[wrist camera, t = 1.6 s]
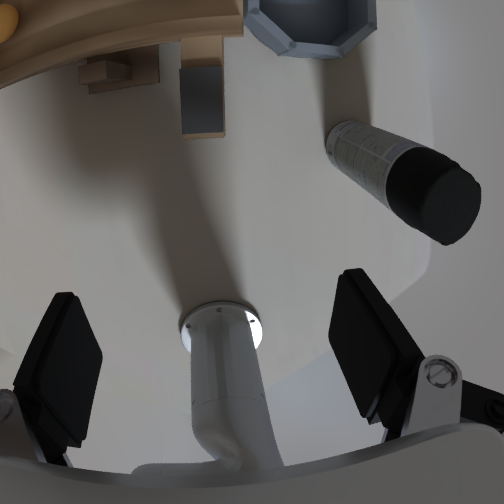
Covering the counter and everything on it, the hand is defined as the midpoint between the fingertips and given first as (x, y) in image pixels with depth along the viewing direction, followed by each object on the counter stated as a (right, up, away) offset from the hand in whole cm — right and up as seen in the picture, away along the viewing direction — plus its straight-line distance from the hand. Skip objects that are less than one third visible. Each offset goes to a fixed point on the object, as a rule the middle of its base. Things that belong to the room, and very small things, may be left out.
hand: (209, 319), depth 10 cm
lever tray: (-11, +21, +11) cm, 27 cm away
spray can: (+13, +15, +26) cm, 33 cm away
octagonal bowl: (+7, +29, +17) cm, 34 cm away
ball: (-20, +22, +4) cm, 30 cm away
